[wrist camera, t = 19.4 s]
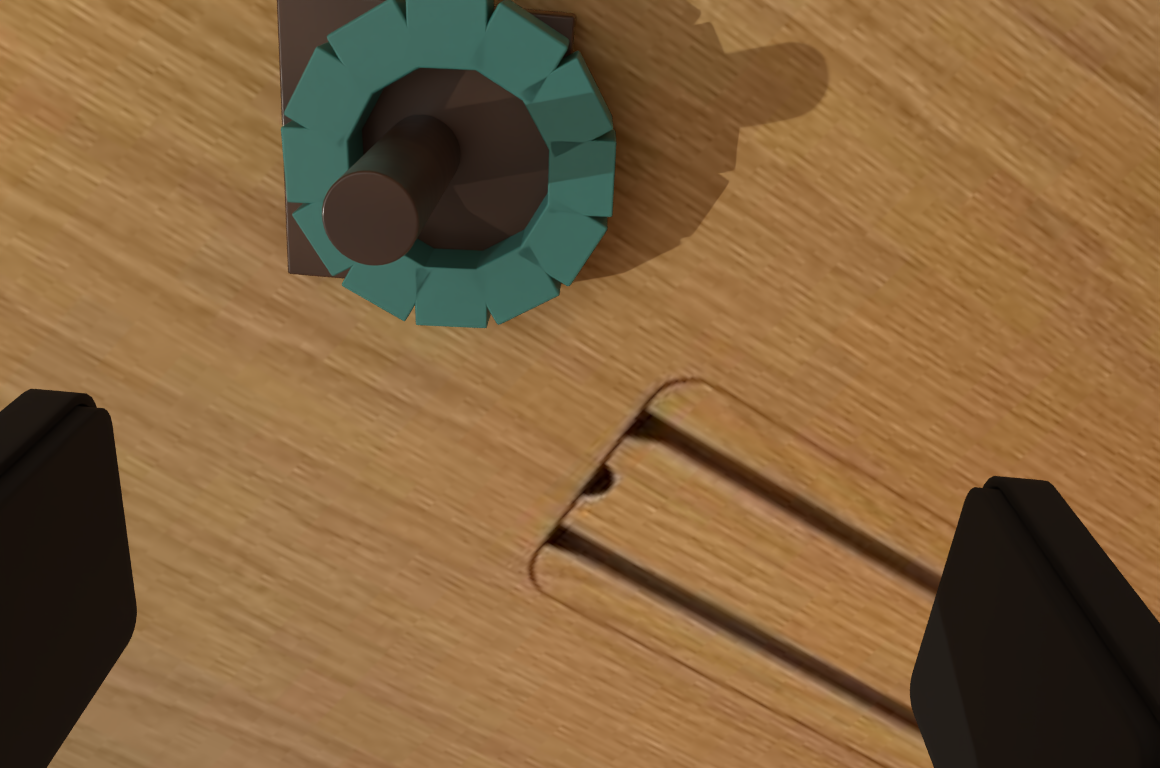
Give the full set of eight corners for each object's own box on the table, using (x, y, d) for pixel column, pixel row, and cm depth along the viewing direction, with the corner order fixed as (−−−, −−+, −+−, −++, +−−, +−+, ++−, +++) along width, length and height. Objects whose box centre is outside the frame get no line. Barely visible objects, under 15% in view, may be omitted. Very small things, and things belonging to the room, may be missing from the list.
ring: (288, -17, 29) (268, -13, 28) (622, -2, 29) (624, 2, 28) (312, 299, 34) (296, 320, 32) (605, 312, 34) (605, 333, 32)
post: (287, -14, 31) (169, 8, 22) (575, 13, 31) (566, 44, 22) (297, 263, 34) (200, 370, 26) (554, 285, 35) (540, 399, 26)
